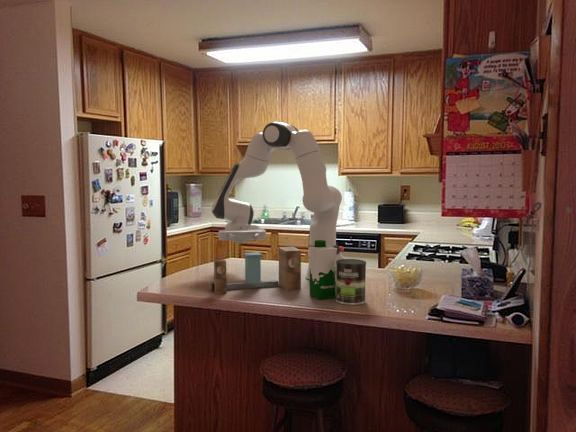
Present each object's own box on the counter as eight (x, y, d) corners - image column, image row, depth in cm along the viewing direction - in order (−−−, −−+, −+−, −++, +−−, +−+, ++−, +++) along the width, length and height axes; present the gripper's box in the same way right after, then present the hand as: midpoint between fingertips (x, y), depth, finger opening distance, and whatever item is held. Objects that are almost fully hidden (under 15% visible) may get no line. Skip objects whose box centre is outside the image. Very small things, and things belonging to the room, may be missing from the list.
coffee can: (362, 306, 165) (362, 264, 163) (332, 303, 168) (332, 262, 167) (368, 299, 174) (368, 259, 173) (339, 296, 178) (340, 258, 177)
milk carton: (327, 292, 184) (327, 239, 182) (339, 298, 175) (340, 242, 174) (306, 294, 180) (306, 240, 178) (317, 300, 172) (317, 244, 170)
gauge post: (224, 291, 186) (224, 259, 184) (227, 294, 181) (226, 261, 180) (214, 291, 184) (213, 260, 183) (216, 294, 180) (215, 262, 179)
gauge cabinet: (293, 283, 199) (293, 246, 197) (301, 289, 188) (301, 250, 187) (278, 284, 197) (278, 247, 195) (286, 290, 186) (286, 251, 185)
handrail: (276, 284, 196) (276, 277, 196) (278, 286, 193) (278, 279, 193) (210, 289, 189) (210, 281, 188) (212, 291, 185) (211, 283, 185)
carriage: (258, 279, 195) (258, 252, 194) (262, 282, 190) (262, 254, 189) (243, 280, 194) (243, 252, 193) (247, 283, 188) (246, 255, 187)
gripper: (215, 226, 212) (220, 230, 198) (261, 225, 218) (269, 229, 204) (215, 240, 212) (220, 245, 199) (261, 239, 218) (269, 244, 205)
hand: (245, 237), depth 202 cm, fingers open, 8 cm apart
